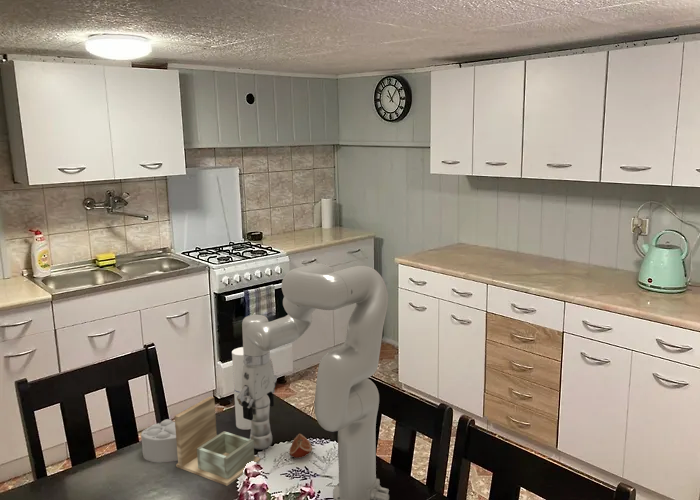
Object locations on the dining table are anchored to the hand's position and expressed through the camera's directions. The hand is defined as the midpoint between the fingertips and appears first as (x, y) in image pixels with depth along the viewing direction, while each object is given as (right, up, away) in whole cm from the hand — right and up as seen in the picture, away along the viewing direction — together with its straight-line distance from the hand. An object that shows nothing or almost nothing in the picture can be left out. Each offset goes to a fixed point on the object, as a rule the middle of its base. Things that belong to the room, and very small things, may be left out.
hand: (258, 411), depth 170 cm
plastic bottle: (0, -11, +2) cm, 11 cm away
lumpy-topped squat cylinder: (-27, -12, 0) cm, 30 cm away
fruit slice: (+13, -12, -3) cm, 18 cm away
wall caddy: (-10, -13, -7) cm, 18 cm away
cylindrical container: (-6, -9, +16) cm, 19 cm away
